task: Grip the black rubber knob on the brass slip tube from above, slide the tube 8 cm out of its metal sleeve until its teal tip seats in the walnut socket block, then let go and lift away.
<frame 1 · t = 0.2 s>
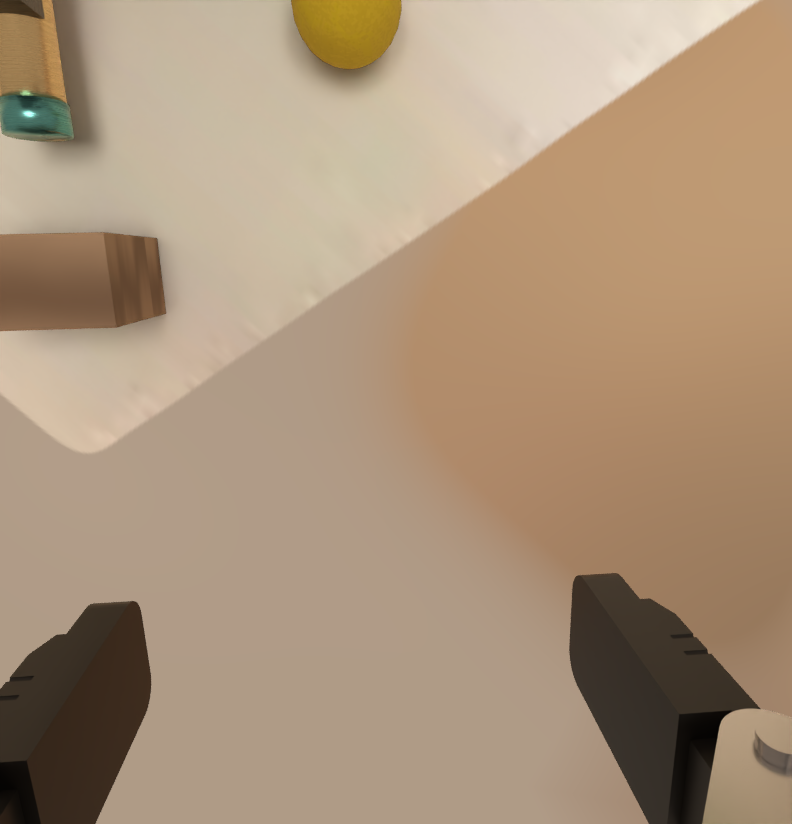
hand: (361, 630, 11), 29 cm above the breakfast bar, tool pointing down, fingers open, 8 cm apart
socket: (94, 278, 36), on the breakfast bar
lemon: (347, 34, 34), on the breakfast bar
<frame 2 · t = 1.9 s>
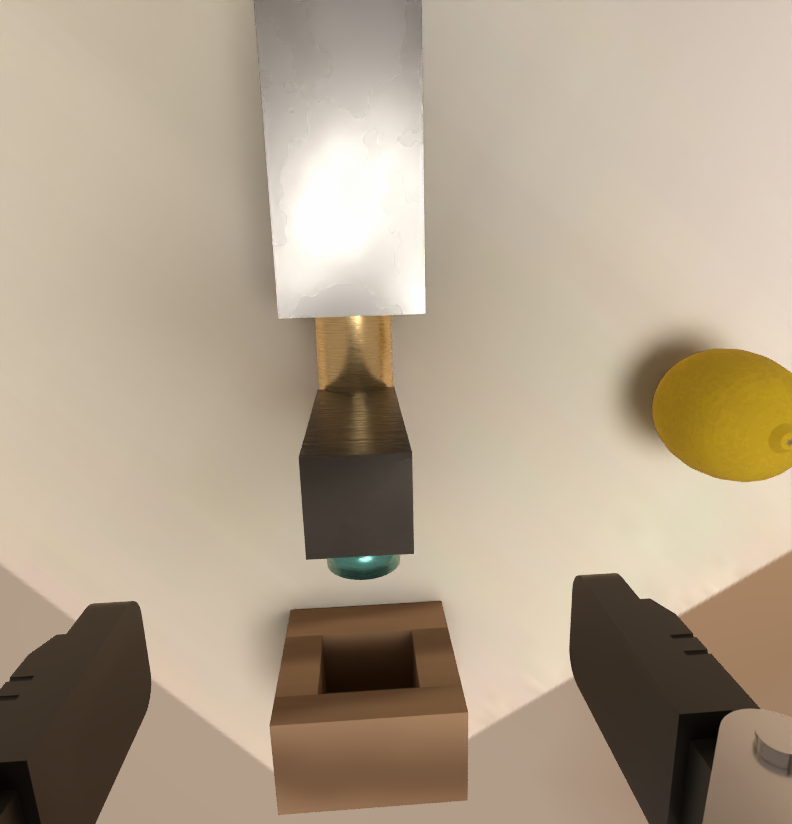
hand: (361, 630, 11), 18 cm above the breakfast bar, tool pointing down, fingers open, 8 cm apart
sleeve: (346, 149, 26), on the breakfast bar
socket: (368, 642, 32), on the breakfast bar
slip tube: (352, 319, 20), point 8 cm above the breakfast bar, slide at 0.0 cm
lemon: (676, 391, 30), on the breakfast bar
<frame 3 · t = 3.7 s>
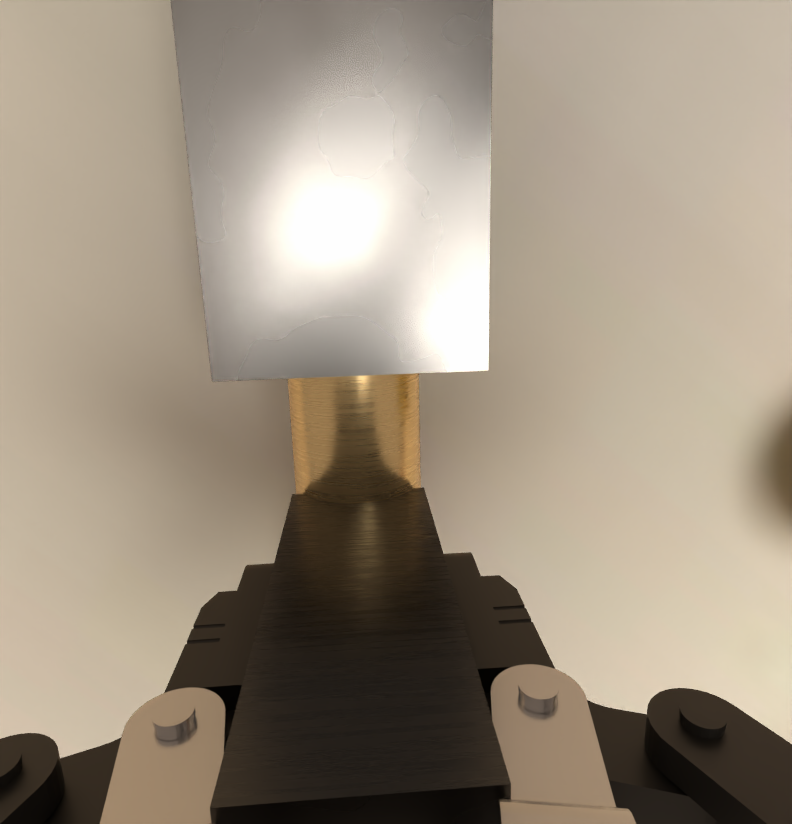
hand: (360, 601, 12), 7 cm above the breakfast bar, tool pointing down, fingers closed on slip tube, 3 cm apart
sleeve: (342, 90, 16), on the breakfast bar
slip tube: (351, 389, 10), point 8 cm above the breakfast bar, slide at 0.0 cm, touching gripper
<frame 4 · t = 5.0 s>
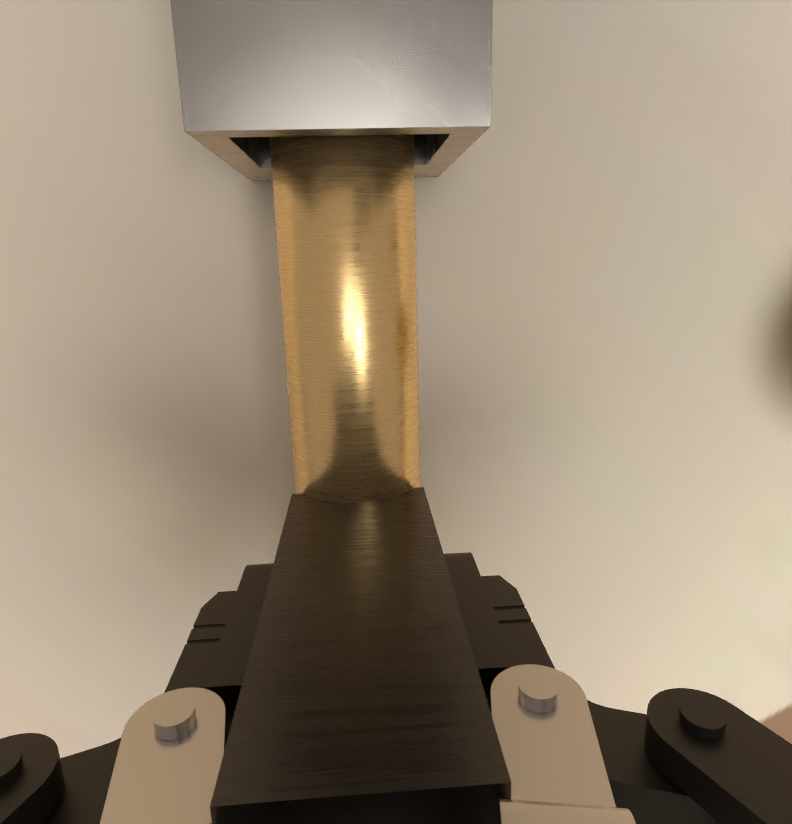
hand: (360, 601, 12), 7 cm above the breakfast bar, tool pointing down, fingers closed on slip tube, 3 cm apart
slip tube: (351, 388, 10), point 8 cm above the breakfast bar, slide at 4.3 cm, touching gripper
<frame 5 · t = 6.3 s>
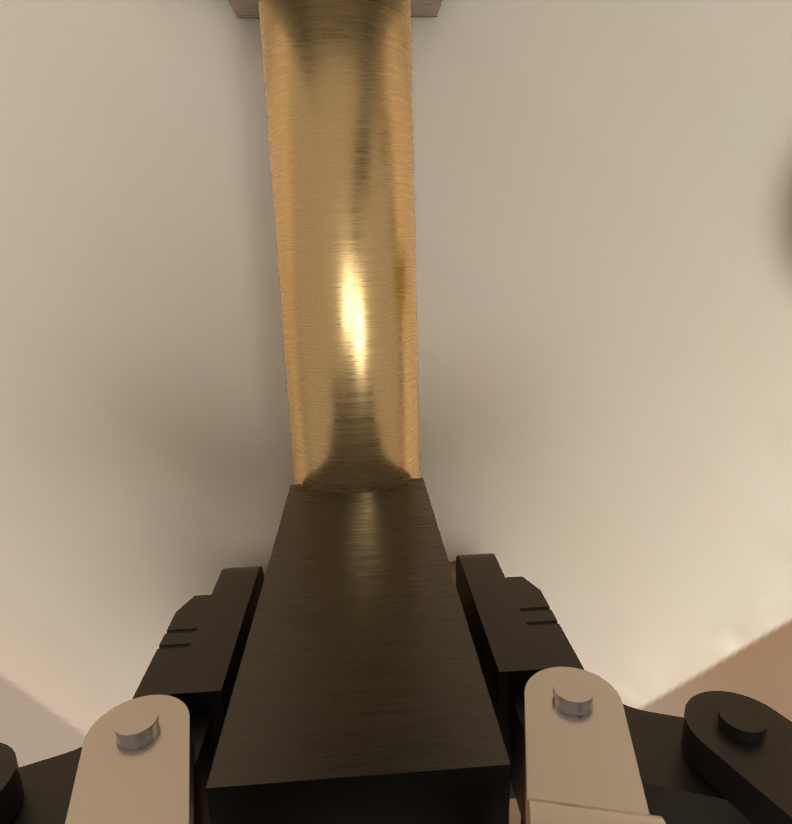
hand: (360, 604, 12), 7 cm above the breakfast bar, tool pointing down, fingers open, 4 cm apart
socket: (366, 627, 20), on the breakfast bar
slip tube: (350, 375, 10), point 8 cm above the breakfast bar, slide at 8.0 cm
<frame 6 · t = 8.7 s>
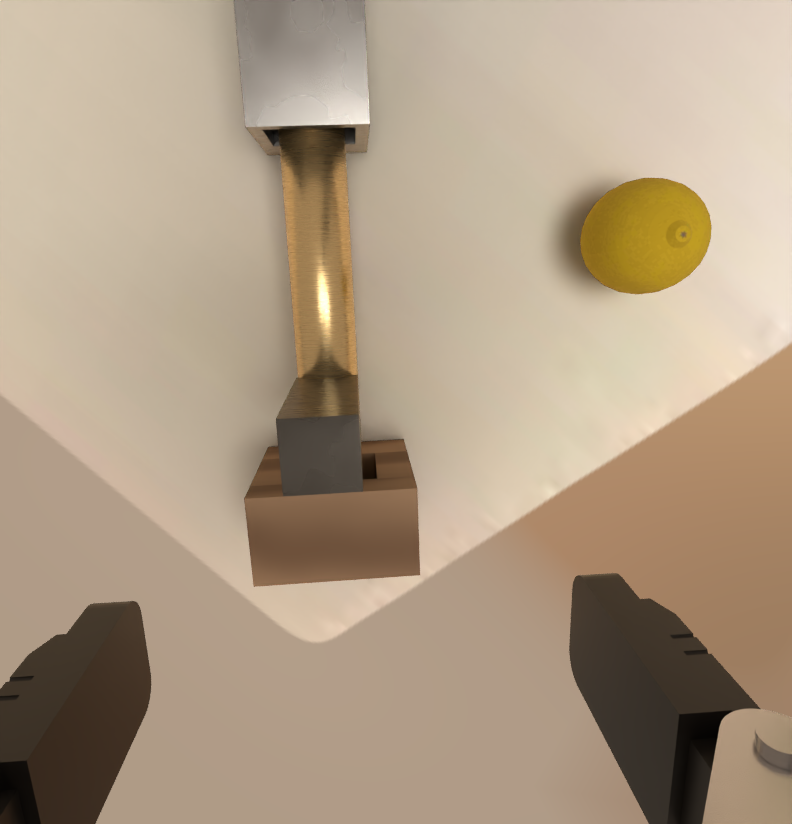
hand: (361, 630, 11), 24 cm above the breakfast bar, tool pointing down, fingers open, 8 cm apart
sleeve: (308, 14, 30), on the breakfast bar
socket: (338, 478, 36), on the breakfast bar
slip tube: (319, 320, 26), point 8 cm above the breakfast bar, slide at 8.0 cm
lemon: (607, 240, 34), on the breakfast bar
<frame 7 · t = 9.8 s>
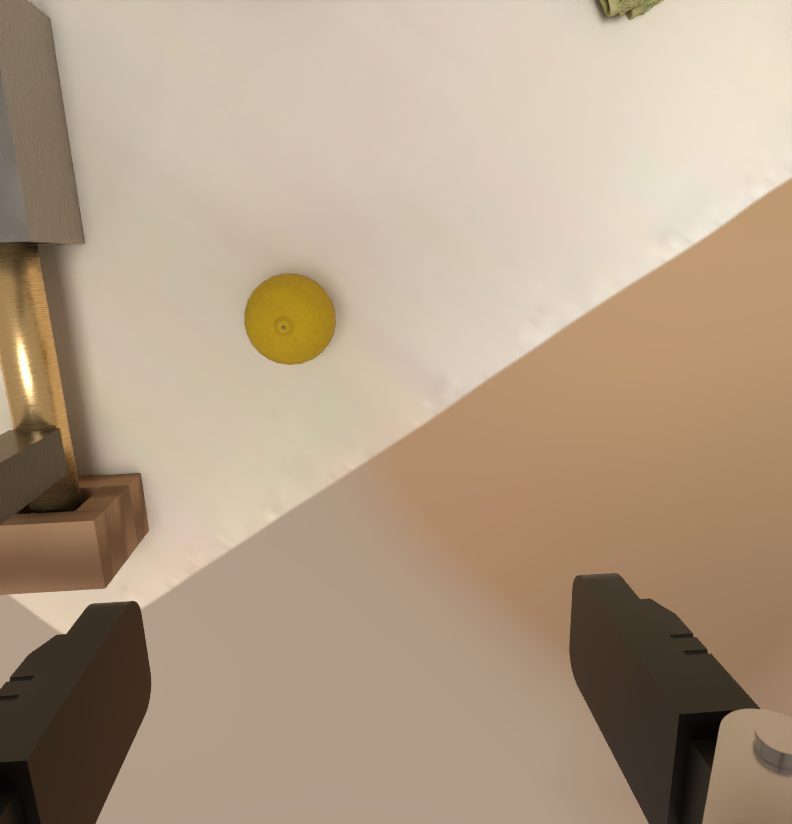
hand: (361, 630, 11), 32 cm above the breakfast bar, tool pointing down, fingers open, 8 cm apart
sleeve: (25, 136, 37), on the breakfast bar
socket: (88, 505, 44), on the breakfast bar
lemon: (297, 313, 41), on the breakfast bar
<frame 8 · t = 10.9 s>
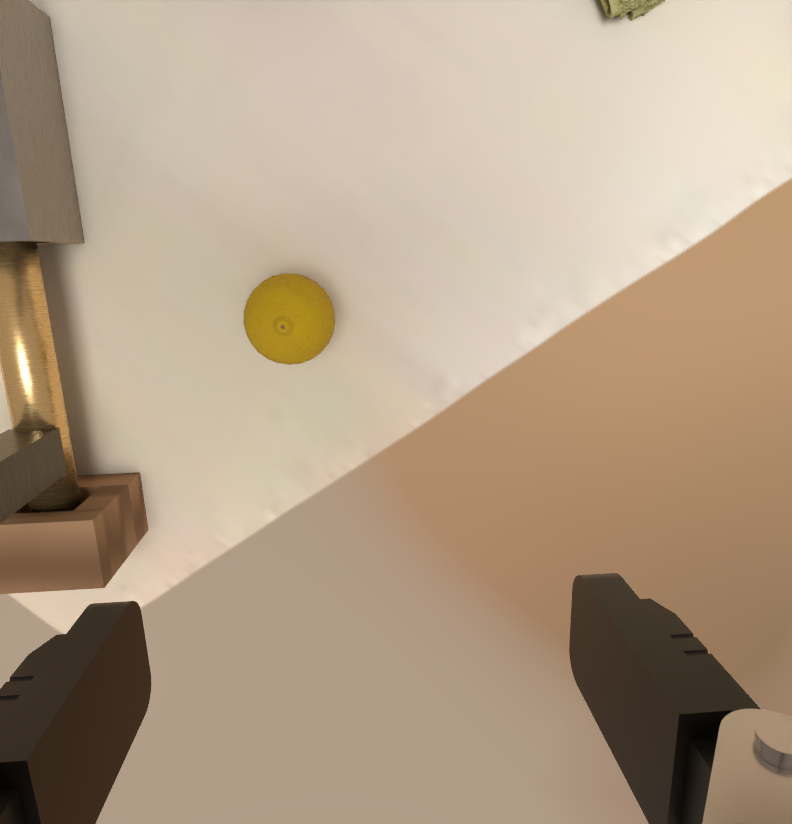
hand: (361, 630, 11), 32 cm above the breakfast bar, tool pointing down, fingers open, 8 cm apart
sleeve: (24, 136, 37), on the breakfast bar
socket: (87, 504, 44), on the breakfast bar
lemon: (296, 313, 41), on the breakfast bar
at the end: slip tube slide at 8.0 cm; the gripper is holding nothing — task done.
